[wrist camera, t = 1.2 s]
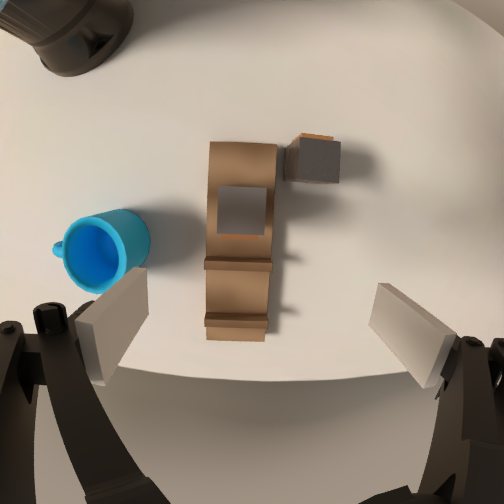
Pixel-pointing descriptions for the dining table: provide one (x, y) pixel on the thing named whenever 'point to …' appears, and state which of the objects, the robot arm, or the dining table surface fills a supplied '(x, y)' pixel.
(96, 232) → the mug
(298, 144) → the dark grey upright block
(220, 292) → the rail
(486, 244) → the dining table surface
